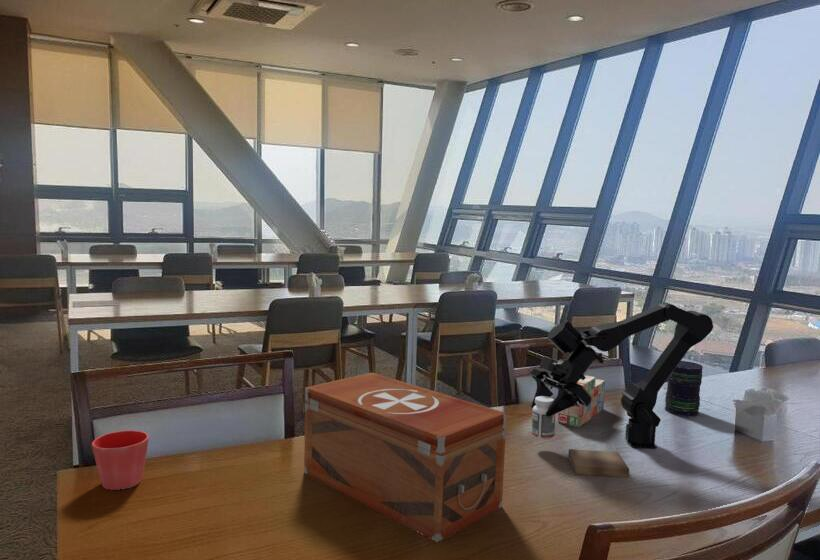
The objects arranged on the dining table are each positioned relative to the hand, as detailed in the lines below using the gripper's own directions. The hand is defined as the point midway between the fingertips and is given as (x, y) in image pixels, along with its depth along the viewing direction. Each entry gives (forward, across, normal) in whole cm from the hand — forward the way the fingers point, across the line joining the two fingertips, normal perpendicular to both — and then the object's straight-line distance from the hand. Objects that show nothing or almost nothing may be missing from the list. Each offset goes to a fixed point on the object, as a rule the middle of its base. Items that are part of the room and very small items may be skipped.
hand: (539, 411), depth 156 cm
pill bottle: (+4, 0, +6) cm, 7 cm away
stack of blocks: (-13, -17, +28) cm, 35 cm away
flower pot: (+74, -18, -61) cm, 98 cm away
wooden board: (+2, +14, +12) cm, 19 cm away
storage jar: (-36, -9, +51) cm, 63 cm away
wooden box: (+37, +7, -23) cm, 44 cm away
